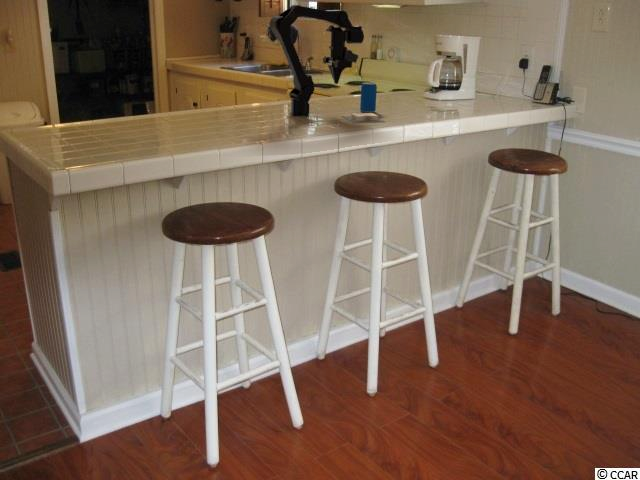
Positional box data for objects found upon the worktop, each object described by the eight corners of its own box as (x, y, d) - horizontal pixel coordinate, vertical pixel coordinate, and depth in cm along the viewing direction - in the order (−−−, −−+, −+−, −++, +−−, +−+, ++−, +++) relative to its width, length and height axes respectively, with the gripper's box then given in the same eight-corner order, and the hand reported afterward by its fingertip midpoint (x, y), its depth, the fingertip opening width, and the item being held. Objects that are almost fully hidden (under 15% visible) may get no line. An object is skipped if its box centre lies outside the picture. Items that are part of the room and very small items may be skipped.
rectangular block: (351, 118, 249) (356, 121, 244) (351, 113, 249) (357, 116, 243) (372, 117, 252) (378, 120, 247) (372, 113, 252) (378, 115, 246)
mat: (354, 123, 241) (354, 122, 241) (341, 117, 253) (341, 116, 253) (385, 122, 245) (385, 121, 245) (371, 116, 257) (371, 115, 257)
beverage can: (377, 113, 265) (379, 84, 260) (362, 113, 263) (364, 84, 259) (372, 110, 271) (373, 82, 266) (357, 110, 269) (359, 82, 265)
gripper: (365, 45, 246) (363, 86, 251) (348, 42, 262) (346, 80, 268) (338, 45, 242) (337, 86, 248) (323, 41, 259) (321, 80, 264)
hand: (336, 83), depth 257 cm, fingers closed
